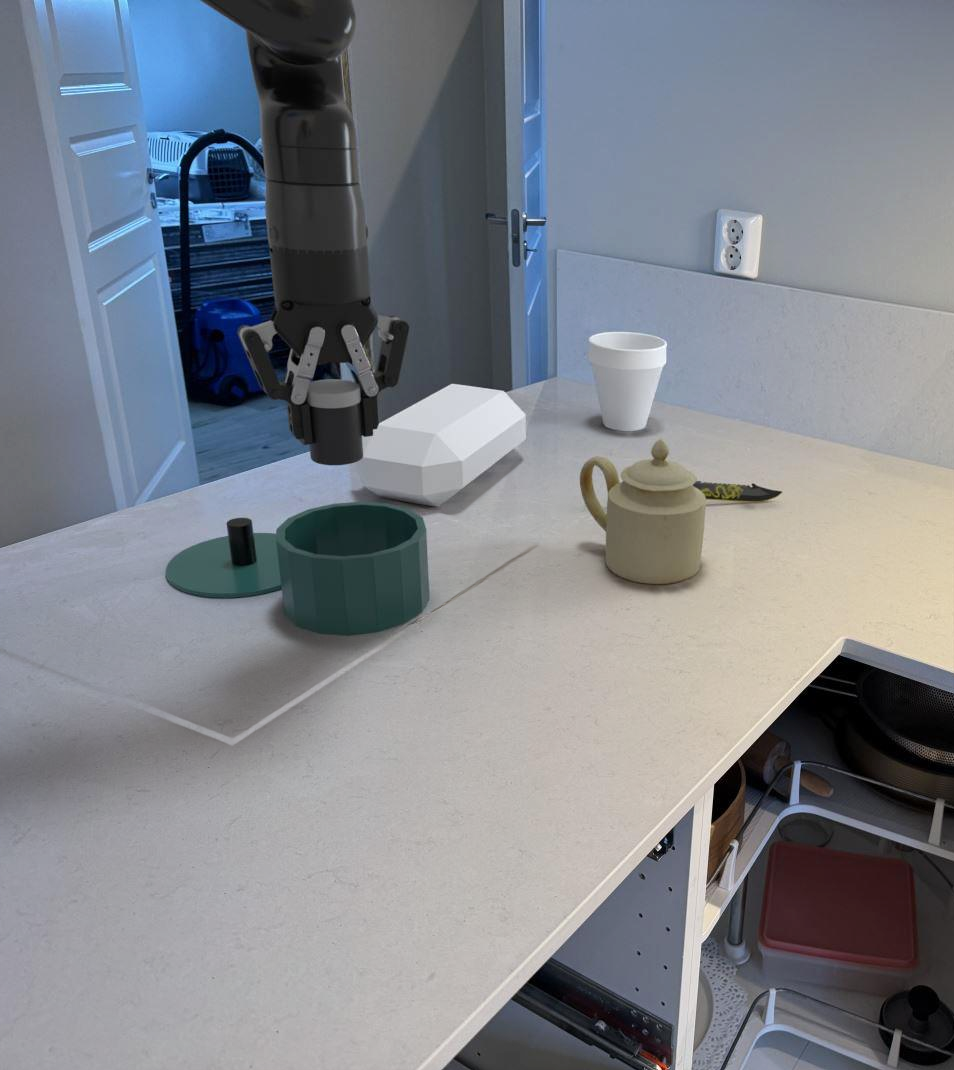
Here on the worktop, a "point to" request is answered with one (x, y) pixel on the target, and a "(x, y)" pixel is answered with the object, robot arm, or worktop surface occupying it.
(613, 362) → the cup
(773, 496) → the knife
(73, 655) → the worktop surface
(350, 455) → the black jar
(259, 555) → the lid
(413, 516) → the pot
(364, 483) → the crystal
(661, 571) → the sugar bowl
